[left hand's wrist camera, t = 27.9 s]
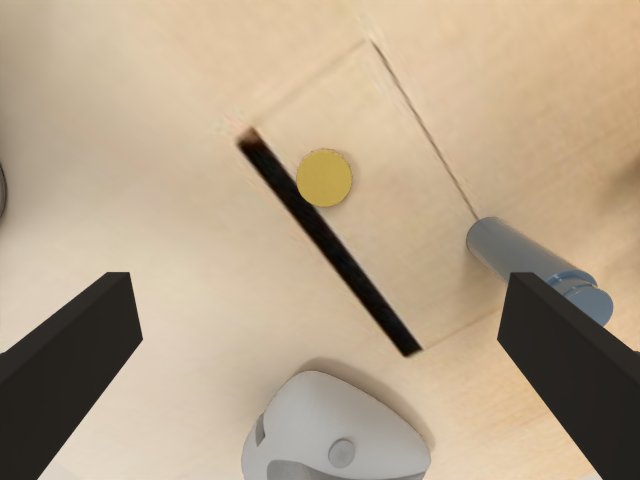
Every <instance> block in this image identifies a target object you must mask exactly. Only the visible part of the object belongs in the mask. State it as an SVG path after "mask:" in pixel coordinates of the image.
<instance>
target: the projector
mask: <svg viewBox="0 0 640 480" xmlns="http://www.w3.org/2000/svg"><path fill="white" fill-rule="evenodd" d="M241 463H242V472H243V475H244V479H245V480H422V479H423V477H424V475H425V473H426V471H427V469H428V468H429V466H430V464H431V456H430V452H429V449H428V447H427V445H426V443H425V441H424V440H423V439H422V437H421V436H420V435H419V434H418V433H417V432H416V431H415V430H414V429H413V428H412V427H411V426H410V425H409V424H408V423H407V422H405V421H404V420H403V419H402V418H401V417H400V416H399V415H397V414H396V413H395V412H393V411H392V410H391V409H389V408H388V407H387V406H385V405H384V404H382V403H381V402H379V401H378V400H376V399H375V398H373V397H371V396H370V395H368V394H366V393H365V392H363V391H361V390H359V389H358V388H356V387H354V386H352V385H350V384H348V383H346V382H344V381H342V380H340V379H338V378H336V377H334V376H331V375H328V374H326V373H323V372H319V371H304V372H301V373H299V374H297V375H295V376H294V377H292V378H291V379H290V380H288V381H287V382H286V383H285V384H284V385H283V386H282V388H281V389H280V390H279V391H278V392H277V394H276V395H275V396H274V398H273V399H272V400H271V402H270V403H269V404H268V406H267V408H266V410H265V413H263V414H262V415H261V416H260V417H259V419H258V420H257V422H256V423H255V425H254V426H253V428H252V429H251V431H250V433H249V434H248V436H247V439H246V441H245V444H244V447H243V451H242V458H241Z"/></svg>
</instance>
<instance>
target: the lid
mask: <svg viewBox="0 0 640 480" xmlns="http://www.w3.org/2000/svg"><path fill="white" fill-rule="evenodd" d="M349 167H350V166H349V164H347V162H346V160H345V159H344V158H343V156H342V155H340V154H338V153H337V152H335V151H334V150H328V149H323V148H322V149H320V150H316V151H311V153H310V154H308V155H307V156H306V157H305V158H303V160H302V162H301V164H300V166H299V167H298V169H297V171H298V172H297V179H296V181H297V187H298V190H299V192H300V194H301V195H302V197H303V198H304V199H305V200H306V201H308V202H309V203H311V204H313V205H316V206H320V207H328V206H333V205H335V204H337V203H339V202H341V201H342V200H343V199H344V198H345V197H346V195H347V194H348V192H349V190H350V188H351V184H352V175H351V171H350V168H349Z"/></svg>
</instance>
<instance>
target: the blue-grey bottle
mask: <svg viewBox="0 0 640 480" xmlns="http://www.w3.org/2000/svg"><path fill="white" fill-rule="evenodd" d="M467 246H468V249H469V250H470V252H471V253H472V254H473V255H474V256H475V257H476V258H477V259H478V260H479V261H480V262H481V263H483V264H484V265H485V266H486V267H487V268H488V269H489V270H490V271H491V272H492V273H493V274H494V275H495V276H496V277H497V278H498V279H499V280H500V281H501V282H502V283H503V284H504V285H505V286H506V287H508V282H509V277H510V273H511V272H533V273H535V274H536V275H537V276H538V277H540V278H541V279H542V280H543V281H545V282H546V283H547V284H549V285H550V286H551V287H552V288H554V289H555V290H556V291H557V292H559V293H560V294H561V295H563V296H564V297H565V298H566V299H568V300H569V301H570V302H572V303H573V304H574V305H575V306H577V307H578V308H579V309H580V310H582V311H583V312H584V313H586V314H587V315H588V316H589V317H591V318H592V319H593V320H595V321H596V322H597V323H598V324H600V325H601V326H602V327H604V326H605V325H606V323H607V322H608V321H609V319H610V318H611V315H612V313H613V302H612V299H611V298H610V296H609V295H608V294H607V293H606V292H604V291H603V290H601V289H600V288H598V286H597V283H596V281H595V279H594V278H593V277H592V276H591V275H590V274H588V273H587V272H585V271H583V270H582V269H580V268H579V267H577V266H575V265H574V264H572V263H571V262H569V261H567V260H566V259H564V258H563V257H561V256H559V255H558V254H556V253H555V252H553V251H551V250H550V249H548V248H547V247H545V246H543V245H542V244H540V243H539V242H537V241H535V240H534V239H532V238H531V237H529V236H527V235H526V234H524V233H523V232H521V231H519V230H518V229H516V228H515V227H513V226H511V225H510V224H508V223H507V222H505V221H504V220H502V219H500V218H496V217H488V218H484V219H482V220H480V221H478V222H477V223H475V224H474V225H473V226H472V227H471V229H470V230H469V232H468V235H467Z"/></svg>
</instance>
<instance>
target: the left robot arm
mask: <svg viewBox="0 0 640 480" xmlns="http://www.w3.org/2000/svg"><path fill="white" fill-rule="evenodd" d="M5 198H6V190H5V181H4V177H3V173H2V170H1V167H0V217H1V215H2V213H3V210H4V205H5ZM142 340H143V337H142V332H141V327H140V322H139V317H138V312H137V307H136V302H135V297H134V292H133V287H132V282H131V278H130V273H129V272H107V273H105V274H104V275H103V276H102V277H100V278H99V279H98V280H97V281H95V282H94V283H93V284H91V285H90V286H89V287H88V288H86V289H85V290H84V291H83V292H81V293H80V294H79V295H77V296H76V297H75V298H74V299H72V300H71V301H70V302H68V303H67V304H66V305H65V306H63V307H62V308H61V309H60V310H58V311H57V312H56V313H54V314H53V315H52V316H51V317H49V318H48V319H47V320H45V321H44V322H43V323H42V324H40V325H39V326H38V327H37V328H35V329H34V330H33V331H31V332H30V333H29V334H28V335H26V336H25V337H24V338H22V339H21V340H20V341H19V342H17V343H16V344H15V345H14V346H12V347H11V348H10V349H8V350H7V351H6V352H5V353H1V354H0V480H37V479H38V478H39V476H40V475H41V474H42V473H43V471H44V470H45V469H46V467H47V466H48V465H49V463H50V462H51V461H52V459H53V458H54V457H55V455H56V454H57V453H58V451H59V450H60V449H61V447H62V446H63V445H64V443H65V442H66V441H67V439H68V438H69V437H70V435H71V434H72V433H73V432H74V430H75V429H76V428H77V426H78V425H79V424H80V422H81V421H82V420H83V418H84V417H85V416H86V414H87V413H88V412H89V410H90V409H91V408H92V406H93V405H94V404H95V402H96V401H97V400H98V398H99V397H100V396H101V394H102V393H103V392H104V391H105V389H106V388H107V387H108V385H109V384H110V383H111V381H112V380H113V379H114V377H115V376H116V375H117V373H118V372H119V371H120V369H121V368H122V367H123V365H124V364H125V363H126V361H127V360H128V359H129V357H130V356H131V355H132V353H133V352H134V351H135V350H136V348H137V347H138V346H139V344H140V343H141V342H142ZM497 340H498V342H499V343H500V344H501V346H502V347H503V348H504V350H505V351H506V352H507V353H508V355H509V356H510V357H511V359H512V360H513V361H514V363H515V364H516V365H517V367H518V368H519V369H520V371H521V372H522V373H523V375H524V376H525V377H526V379H527V380H528V381H529V383H530V384H531V385H532V387H533V388H534V389H535V391H536V392H537V393H538V394H539V396H540V397H541V398H542V400H543V401H544V402H545V404H546V405H547V406H548V408H549V409H550V410H551V412H552V413H553V414H554V416H555V417H556V418H557V420H558V421H559V422H560V424H561V425H562V426H563V428H564V429H565V430H566V432H567V433H568V434H569V435H570V437H571V438H572V439H573V441H574V442H575V443H576V445H577V446H578V447H579V449H580V450H581V451H582V453H583V454H584V455H585V457H586V458H587V459H588V461H589V462H590V463H591V465H592V466H593V467H594V469H595V470H596V471H597V473H598V474H599V475H600V476H601V478H602V479H603V480H640V352H638V351H633V350H632V349H630V348H629V347H628V346H626V345H625V344H624V343H623V342H621V341H620V340H619V339H618V338H616V337H615V336H614V335H612V334H611V333H610V332H609V331H607V330H606V329H605V328H603V327H602V326H601V325H600V324H598V323H597V322H596V321H595V320H593V319H592V318H591V317H589V316H588V315H587V314H586V313H584V312H583V311H582V310H580V309H579V308H578V307H577V306H575V305H574V304H573V303H572V302H570V301H569V300H568V299H566V298H565V297H564V296H563V295H561V294H560V293H559V292H557V291H556V290H555V289H554V288H552V287H551V286H550V285H549V284H547V283H546V282H545V281H543V280H542V279H541V278H540V277H538V276H537V275H536V274H535V273H533V272H511V273H510V277H509V282H508V287H507V292H506V297H505V302H504V307H503V312H502V317H501V322H500V327H499V332H498V337H497Z"/></svg>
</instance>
